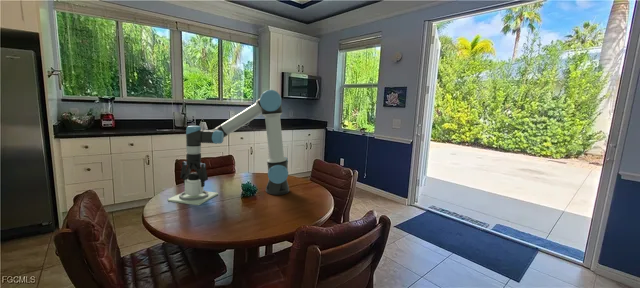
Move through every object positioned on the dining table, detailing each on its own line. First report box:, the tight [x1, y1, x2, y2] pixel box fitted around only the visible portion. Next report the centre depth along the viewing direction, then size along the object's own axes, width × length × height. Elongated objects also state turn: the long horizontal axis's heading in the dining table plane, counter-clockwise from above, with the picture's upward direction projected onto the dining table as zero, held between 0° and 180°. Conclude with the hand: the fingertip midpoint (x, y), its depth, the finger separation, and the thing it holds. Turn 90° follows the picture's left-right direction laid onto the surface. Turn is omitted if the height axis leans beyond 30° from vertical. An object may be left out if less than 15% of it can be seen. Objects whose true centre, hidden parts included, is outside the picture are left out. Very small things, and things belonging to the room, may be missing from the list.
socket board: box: [167, 189, 219, 206], centre depth 157 cm, size 19×19×2 cm
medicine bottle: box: [184, 172, 203, 196], centre depth 156 cm, size 7×7×12 cm
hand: (194, 191), depth 156 cm, fingers closed on medicine bottle, 9 cm apart
